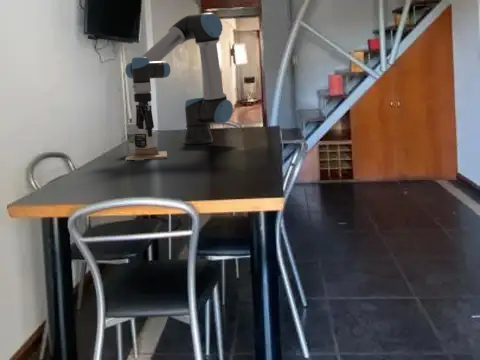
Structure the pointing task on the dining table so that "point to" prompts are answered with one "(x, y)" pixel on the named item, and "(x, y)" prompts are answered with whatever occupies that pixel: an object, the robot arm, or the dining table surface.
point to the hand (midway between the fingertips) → (146, 143)
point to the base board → (161, 156)
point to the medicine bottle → (144, 137)
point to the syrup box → (131, 136)
